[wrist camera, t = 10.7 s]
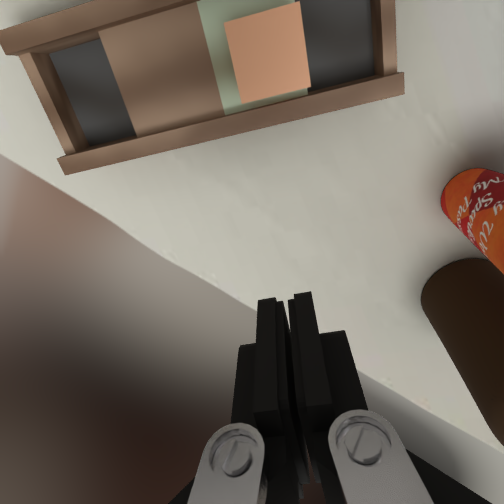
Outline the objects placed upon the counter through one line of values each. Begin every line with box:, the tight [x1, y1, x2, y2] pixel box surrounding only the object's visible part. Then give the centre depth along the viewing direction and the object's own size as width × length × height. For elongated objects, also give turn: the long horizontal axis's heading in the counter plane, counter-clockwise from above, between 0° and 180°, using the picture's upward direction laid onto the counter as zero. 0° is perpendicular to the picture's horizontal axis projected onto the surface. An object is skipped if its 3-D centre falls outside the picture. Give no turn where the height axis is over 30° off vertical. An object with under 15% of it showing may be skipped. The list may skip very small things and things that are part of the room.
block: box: [224, 1, 311, 104], centre depth 25 cm, size 5×5×4 cm
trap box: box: [0, 0, 405, 175], centre depth 27 cm, size 11×29×4 cm, turn 103°
